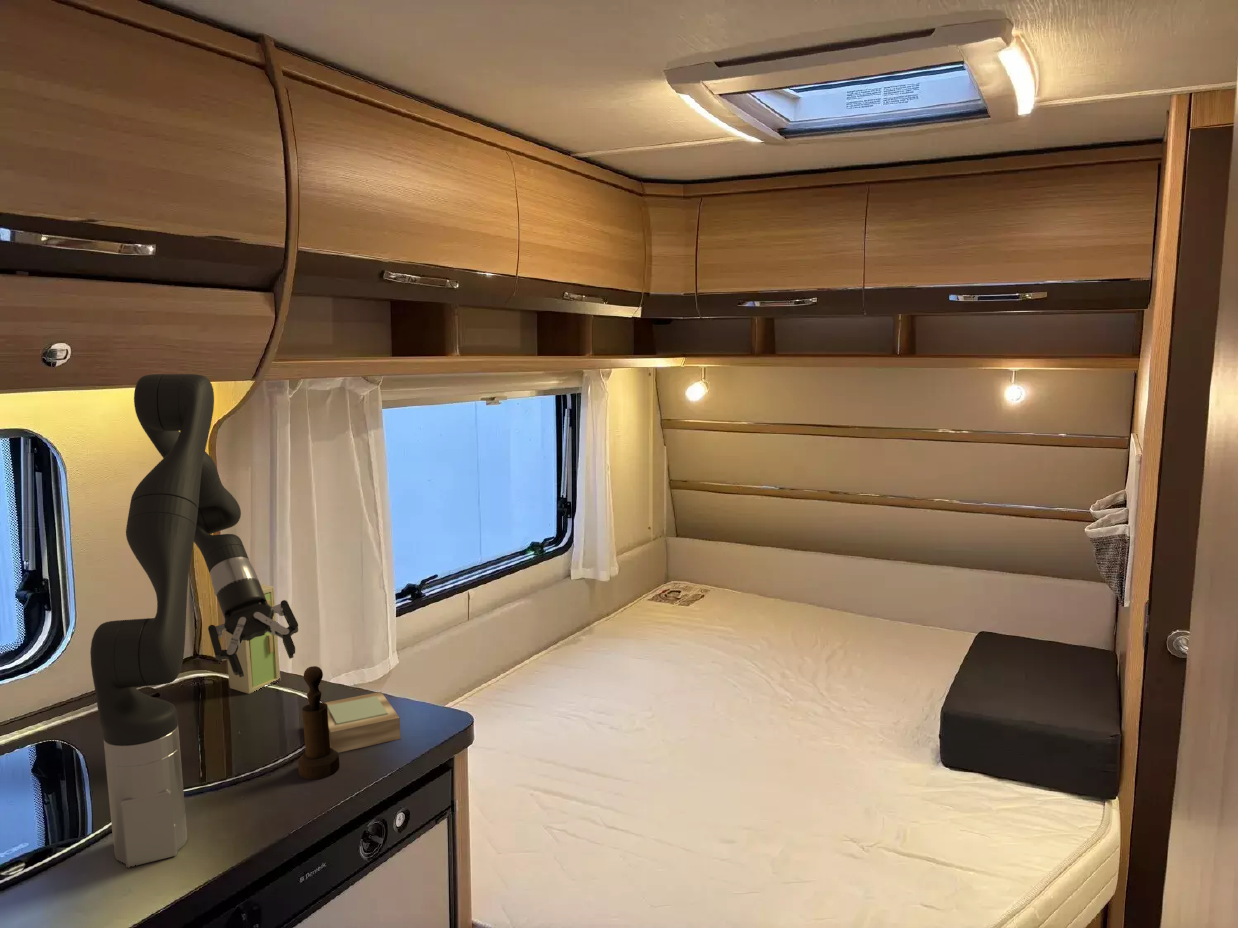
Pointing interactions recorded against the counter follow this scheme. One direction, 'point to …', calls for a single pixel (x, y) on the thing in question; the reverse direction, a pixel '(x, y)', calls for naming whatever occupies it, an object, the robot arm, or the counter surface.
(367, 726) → the birch pedestal
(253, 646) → the toy refrigerator
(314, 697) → the dark brown pepper mill
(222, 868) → the counter surface
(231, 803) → the counter surface
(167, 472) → the robot arm
